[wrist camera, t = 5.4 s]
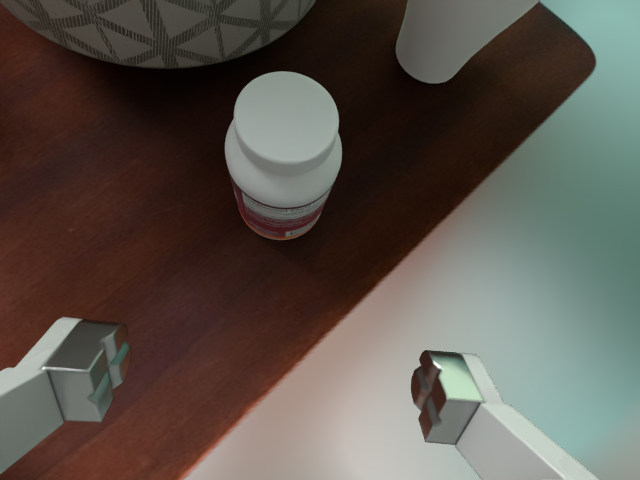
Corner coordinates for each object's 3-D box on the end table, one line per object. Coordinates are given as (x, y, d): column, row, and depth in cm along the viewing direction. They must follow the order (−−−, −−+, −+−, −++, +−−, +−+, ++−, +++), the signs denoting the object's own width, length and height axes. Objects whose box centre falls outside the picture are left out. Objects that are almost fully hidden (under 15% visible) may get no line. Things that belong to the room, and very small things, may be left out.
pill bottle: (254, 152, 27) (246, 35, 16) (331, 179, 27) (372, 82, 17) (224, 226, 25) (192, 149, 14) (306, 254, 25) (334, 199, 15)
